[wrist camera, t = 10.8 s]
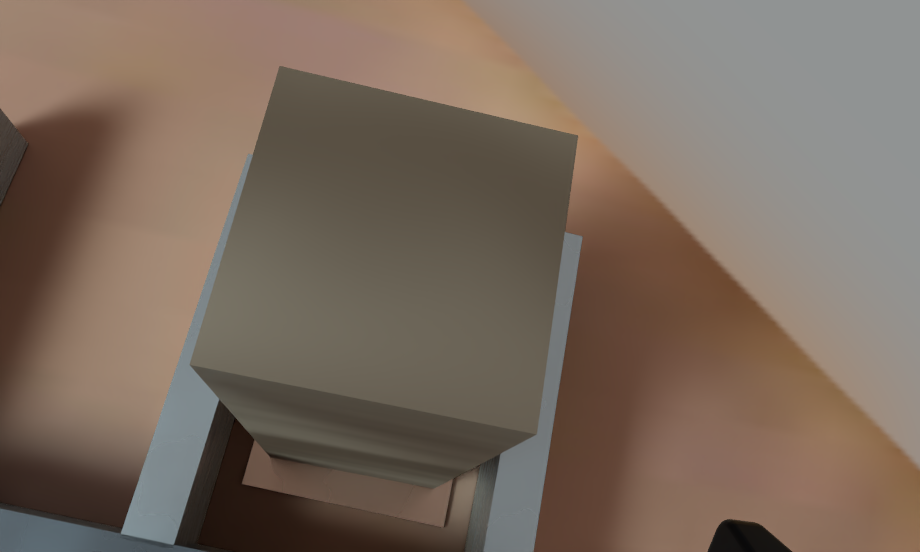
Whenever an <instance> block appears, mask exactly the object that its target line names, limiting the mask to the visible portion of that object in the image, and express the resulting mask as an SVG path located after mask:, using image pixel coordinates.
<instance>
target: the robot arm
mask: <svg viewBox="0 0 920 552" xmlns="http://www.w3.org/2000/svg"><path fill="white" fill-rule="evenodd" d="M708 552H792V551H791V550H790V549H789V548H787V547H786V546H785V545H784V544H783V543H782V542H780V541H779V540H778V539H777V538H776V537H775V536H773V535H772V534H771V533H770V532H769V531H768V530H766V529H765V528H764V527H763V526H761V525H760V524H758V523H754V522H747V521H740V520H732V519H727V520H724V521H723V522H721V524H720V525H719V526H718V528H717V530H716V532H715V535H714V537H713V540H712V542H711V545H710V547H709V549H708Z"/></svg>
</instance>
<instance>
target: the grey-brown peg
mask: <svg viewBox="0 0 920 552" xmlns="http://www.w3.org/2000/svg"><path fill="white" fill-rule="evenodd" d="M577 140H578V136H577V135H573V134H569V133H564V132H560V131H556V130H552V129H547V128H543V127H539V126H534V125H530V124H526V123H522V122H517V121H513V120H509V119H504V118H500V117H496V116H492V115H487V114H483V113H479V112H474V111H470V110H466V109H462V108H457V107H453V106H449V105H445V104H440V103H436V102H432V101H427V100H423V99H419V98H415V97H410V96H406V95H402V94H397V93H393V92H389V91H385V90H380V89H376V88H372V87H367V86H363V85H359V84H355V83H350V82H346V81H342V80H337V79H333V78H329V77H325V76H320V75H316V74H312V73H307V72H303V71H299V70H295V69H290V68H286V67H282V66H280V67H279V70H278V74H277V77H276V80H275V84H274V87H273V90H272V93H271V97H270V100H269V103H268V107H267V110H266V113H265V117H264V120H263V123H262V127H261V130H260V133H259V136H258V140H257V143H256V146H255V150H254V153H253V156H252V160H251V163H250V166H249V169H248V173H247V176H246V179H245V183H244V186H243V189H242V193H241V196H240V199H239V203H238V206H237V209H236V212H235V216H234V219H233V222H232V226H231V229H230V232H229V236H228V239H227V242H226V245H225V249H224V252H223V255H222V259H221V262H220V265H219V269H218V272H217V275H216V279H215V282H214V285H213V288H212V292H211V295H210V298H209V302H208V305H207V308H206V312H205V315H204V318H203V321H202V325H201V328H200V331H199V335H198V338H197V341H196V345H195V348H194V351H193V355H192V358H191V361H190V364H189V365H190V366H191V367H192V368H193V369H194V371H195V372H196V373H197V374H198V375H199V376H200V378H201V379H202V380H203V381H204V382H205V383H206V384H207V386H208V387H209V388H210V389H211V390H212V391H213V392H214V394H215V395H216V396H217V397H218V398H219V399H220V400H221V402H222V403H223V404H224V405H225V406H226V407H227V408H228V410H229V411H230V412H231V413H232V414H233V415H234V416H235V418H236V419H237V420H238V421H239V422H240V423H241V424H242V426H243V427H244V428H245V429H246V430H247V431H248V432H249V434H250V435H251V436H252V437H253V438H254V439H255V440H256V442H257V443H258V444H259V445H260V446H261V447H262V449H263V450H264V451H265V452H266V453H267V454H268V455H269V457H272V458H277V459H282V460H287V461H292V462H298V463H303V464H308V465H313V466H318V467H324V468H329V469H334V470H339V471H344V472H350V473H355V474H360V475H365V476H370V477H376V478H381V479H386V480H391V481H396V482H402V483H407V484H412V485H417V486H422V487H428V488H433V489H435V488H436V487H438V486H440V485H442V484H444V483H446V482H448V481H450V480H452V479H453V478H455V477H457V476H459V475H461V474H463V473H465V472H467V471H469V470H471V469H472V468H474V467H476V466H478V465H480V464H482V463H484V462H486V461H488V460H489V459H491V458H493V457H495V456H497V455H499V454H501V453H503V452H505V451H506V450H508V449H510V448H512V447H514V446H516V445H518V444H520V443H522V442H524V441H525V440H527V439H529V438H531V437H533V436H535V435H537V430H538V423H539V416H540V408H541V401H542V394H543V387H544V379H545V372H546V365H547V358H548V350H549V343H550V336H551V329H552V321H553V314H554V307H555V300H556V292H557V285H558V278H559V271H560V263H561V256H562V249H563V242H564V234H565V227H566V220H567V213H568V205H569V198H570V191H571V184H572V176H573V169H574V162H575V155H576V147H577Z"/></svg>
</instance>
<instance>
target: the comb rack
mask: <svg viewBox="0 0 920 552" xmlns="http://www.w3.org/2000/svg"><path fill="white" fill-rule="evenodd" d="M27 145H28V143H27V141H26V140H25V139H24V138H23V136H22V135H21V134H20V133H19V131H18V130H17V129H16V128H15V126H14V125H13V124H12V122H11V121H10V120H9V119H8V117H7V116H6V115H5V114H4V112H3V111H2V110H1V109H0V205H1V203H2V201H3V198H4V196H5V194H6V192H7V190H8V187H9V185H10V183H11V181H12V179H13V176H14V174H15V172H16V170H17V167H18V165H19V163H20V161H21V159H22V156H23V154H24V152H25V150H26V148H27ZM252 156H253V155H251V154H248V156H247V159H246V162H245V165H244V168H243V171H242V174H241V177H240V180H239V183H238V186H237V189H236V192H235V195H234V198H233V201H232V204H231V207H230V210H229V213H228V216H227V219H226V222H225V225H224V228H223V231H222V234H221V236H220V239H219V242H218V245H217V248H216V251H215V254H214V257H213V260H212V263H211V266H210V269H209V272H208V275H207V278H206V281H205V284H204V287H203V290H202V293H201V296H200V299H199V302H198V305H197V308H196V311H195V314H194V317H193V320H192V323H191V326H190V329H189V332H188V335H187V338H186V341H185V344H184V347H183V350H182V353H181V356H180V359H179V362H178V365H177V368H176V370H175V373H174V376H173V379H172V382H171V385H170V388H169V391H168V394H167V397H166V400H165V403H164V406H163V409H162V412H161V415H160V418H159V421H158V424H157V427H156V430H155V433H154V436H153V439H152V442H151V445H150V448H149V451H148V454H147V457H146V460H145V463H144V466H143V469H142V472H141V475H140V478H139V481H138V484H137V487H136V490H135V493H134V496H133V499H132V502H131V505H130V507H129V510H128V513H127V516H126V519H125V522H124V525H123V528H119V527H114V526H109V525H105V524H100V523H95V522H90V521H86V520H81V519H76V518H71V517H66V516H62V515H57V514H52V513H47V512H43V511H38V510H33V509H28V508H23V507H19V506H14V505H9V504H4V503H0V552H234V551H229V550H224V549H219V548H214V547H210V546H205V545H200V544H197V542H198V539H199V536H200V532H201V529H202V526H203V522H204V519H205V516H206V512H207V509H208V506H209V502H210V499H211V496H212V492H213V489H214V486H215V482H216V479H217V476H218V473H219V469H220V466H221V463H222V459H223V456H224V453H225V449H226V446H227V443H228V439H229V436H230V433H231V429H232V426H233V423H234V419H235V416H234V415H233V414H232V413H231V412H230V411H229V410H228V408H227V407H226V406H225V405H224V404H223V403H222V402H221V400H220V399H219V398H218V397H217V396H216V395H215V394H214V392H213V391H212V390H211V389H210V388H209V387H208V386H207V384H206V383H205V382H204V381H203V380H202V379H201V378H200V376H199V375H198V374H197V373H196V372H195V371H194V369H193V368H192V367H191V366H190V365H189V364H190V361H191V358H192V355H193V351H194V348H195V345H196V341H197V338H198V335H199V331H200V328H201V325H202V321H203V318H204V315H205V312H206V308H207V305H208V302H209V298H210V295H211V292H212V288H213V285H214V282H215V279H216V275H217V272H218V269H219V265H220V262H221V259H222V255H223V252H224V249H225V245H226V242H227V239H228V236H229V232H230V229H231V226H232V222H233V219H234V216H235V212H236V209H237V206H238V203H239V199H240V196H241V193H242V189H243V186H244V183H245V179H246V176H247V173H248V169H249V166H250V163H251V160H252ZM582 237H583V236H579V235H575V234H571V233H567V232H565V234H564V242H563V249H562V256H561V263H560V271H559V278H558V285H557V292H556V300H555V307H554V314H553V321H552V329H551V336H550V343H549V350H548V358H547V365H546V372H545V379H544V387H543V394H542V401H541V408H540V416H539V423H538V430H537V435H535V436H533V437H531V438H529V439H527V440H525V441H524V442H522V443H520V444H518V445H516V446H514V447H512V448H510V449H508V450H506V451H505V452H503V453H501V454H499V455H497V456H495V457H493V458H491V459H489V460H488V461H486V462H484V463H482V464H480V468H479V474H478V479H477V485H476V490H475V495H474V501H473V506H472V511H471V517H470V522H469V528H468V533H467V538H466V544H465V549H464V552H533V551H534V545H535V538H536V532H537V526H538V519H539V513H540V506H541V500H542V494H543V487H544V481H545V474H546V468H547V462H548V455H549V449H550V442H551V436H552V430H553V423H554V417H555V410H556V404H557V398H558V391H559V385H560V378H561V372H562V366H563V359H564V353H565V346H566V340H567V334H568V327H569V321H570V314H571V308H572V301H573V295H574V289H575V282H576V276H577V269H578V263H579V257H580V250H581V244H582ZM452 481H453V479H452V480H450V481H448V482H446V483H444V484H442V485H440V486H438V487H436V488H435V489H433V488H428V487H422V486H417V485H412V484H407V483H402V482H396V481H391V480H386V479H381V478H376V477H370V476H365V475H360V474H355V473H350V472H344V471H339V470H334V469H329V468H324V467H318V466H313V465H308V464H303V463H298V462H292V461H287V460H282V459H277V458H272V457H269V455H268V454H267V453H266V452H265V451H264V450H263V449H262V447H261V446H260V445H259V444H258V443H257V442H256V440H254V444H253V447H252V451H251V454H250V457H249V461H248V464H247V468H246V471H245V475H244V478H243V482H242V484H244V485H249V486H253V487H258V488H263V489H267V490H272V491H276V492H281V493H286V494H290V495H295V496H300V497H304V498H309V499H314V500H318V501H323V502H327V503H332V504H337V505H341V506H346V507H351V508H355V509H360V510H364V511H369V512H374V513H378V514H383V515H388V516H392V517H397V518H402V519H406V520H411V521H415V522H420V523H425V524H429V525H434V526H439V527H444V522H445V517H446V512H447V507H448V502H449V497H450V491H451V486H452Z"/></svg>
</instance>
